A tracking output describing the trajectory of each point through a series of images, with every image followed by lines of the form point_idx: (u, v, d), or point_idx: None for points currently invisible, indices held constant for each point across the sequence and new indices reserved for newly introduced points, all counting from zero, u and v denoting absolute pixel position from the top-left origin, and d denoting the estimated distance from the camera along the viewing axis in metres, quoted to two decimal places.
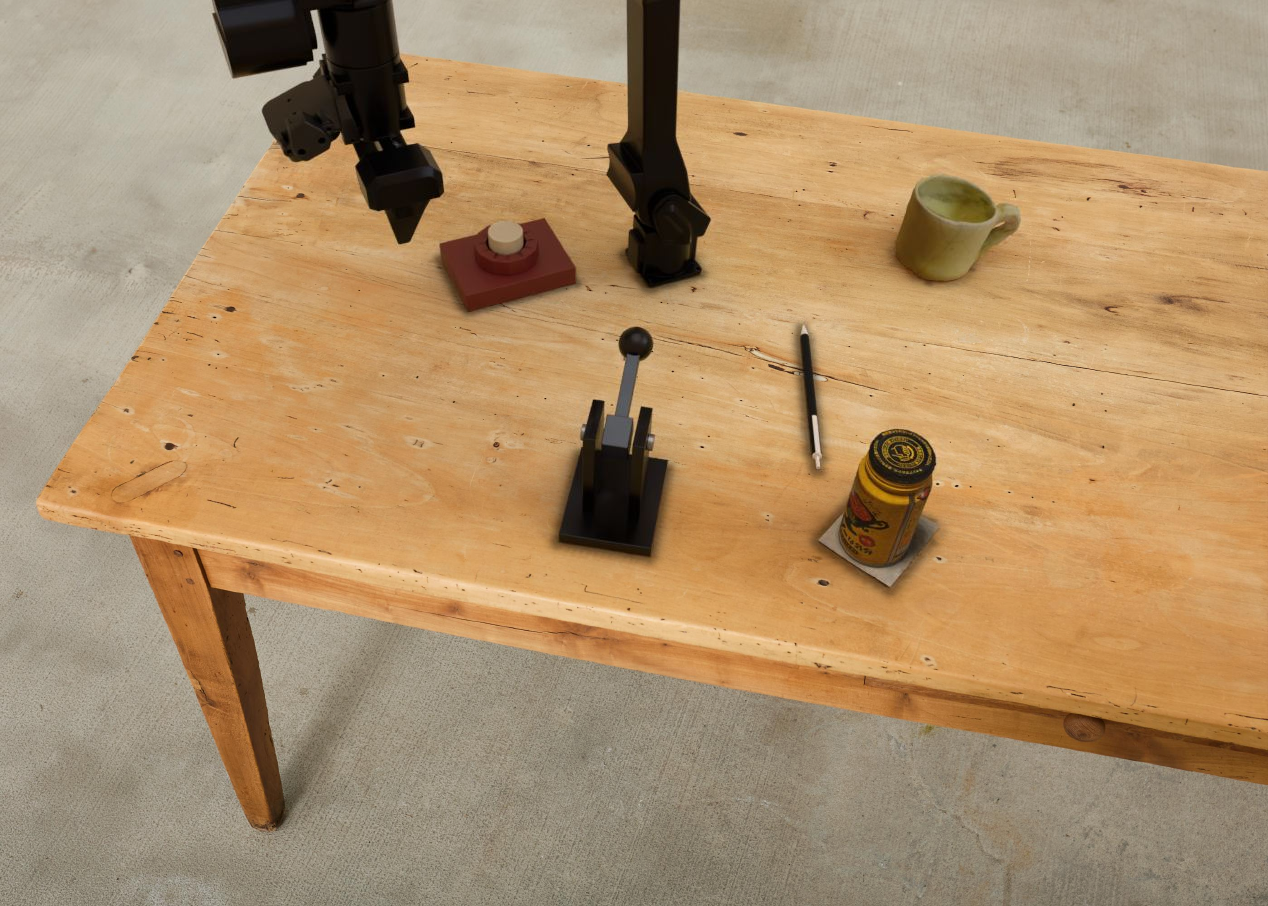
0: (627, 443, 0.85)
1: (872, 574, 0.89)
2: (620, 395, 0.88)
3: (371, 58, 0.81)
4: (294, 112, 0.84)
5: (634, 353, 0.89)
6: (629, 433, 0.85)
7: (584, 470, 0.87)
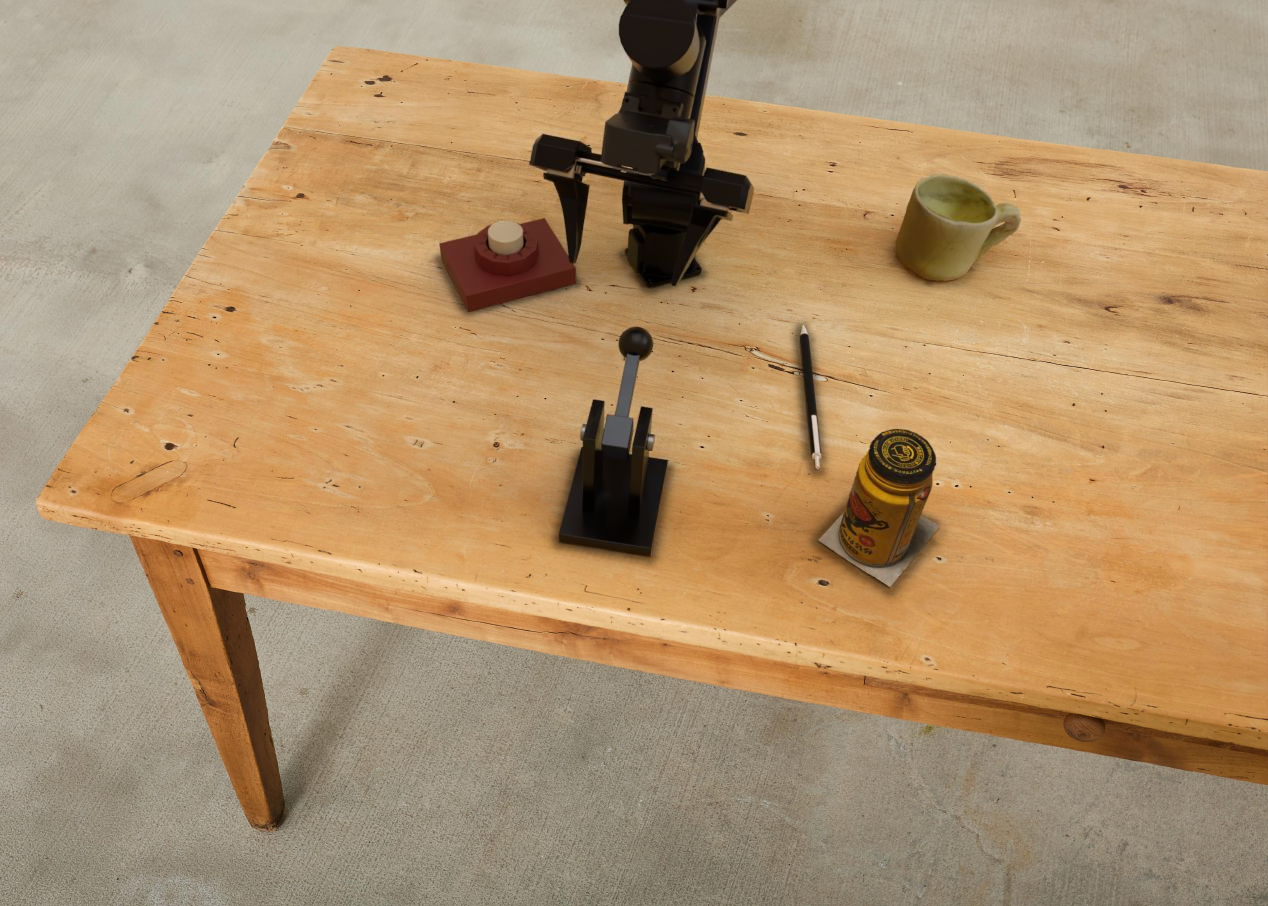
0: (627, 443, 0.85)
1: (872, 574, 0.89)
2: (620, 395, 0.88)
3: (696, 87, 0.89)
4: (649, 125, 0.83)
5: (634, 353, 0.89)
6: (629, 433, 0.85)
7: (584, 470, 0.87)
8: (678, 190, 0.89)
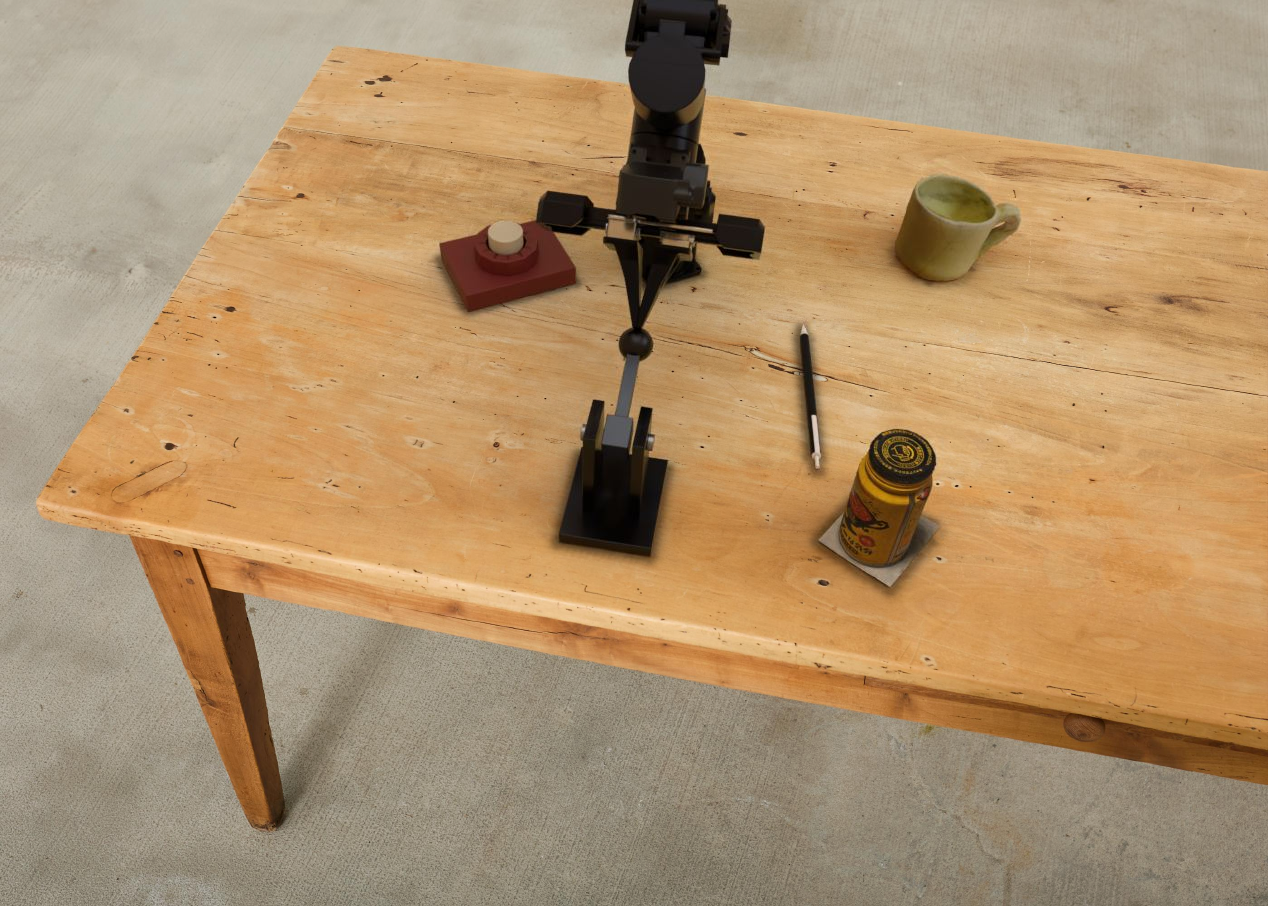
0: (627, 443, 0.85)
1: (872, 574, 0.89)
2: (620, 395, 0.88)
3: None
4: (662, 173, 0.82)
5: (634, 353, 0.89)
6: (629, 433, 0.85)
7: (584, 470, 0.87)
8: None
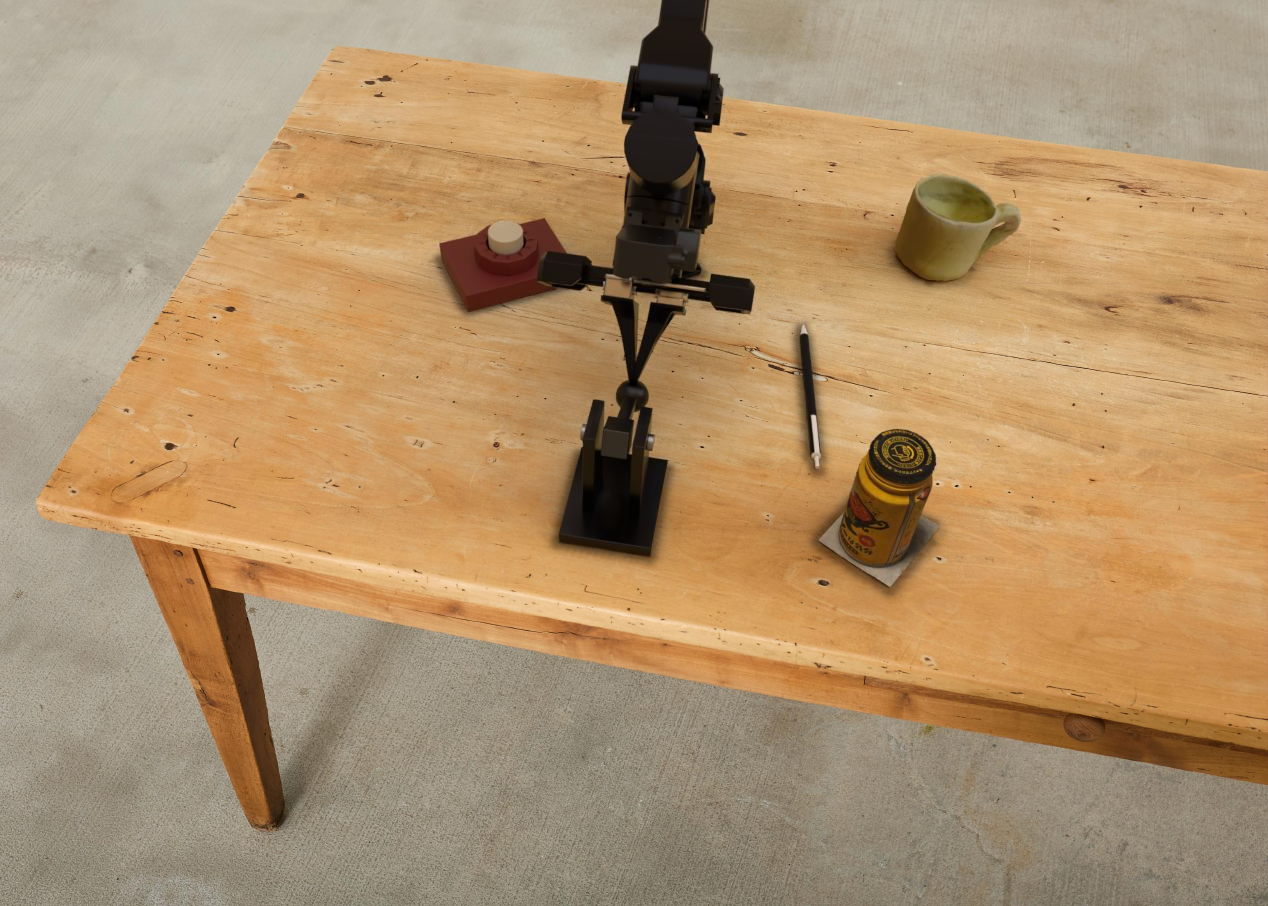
0: (629, 430, 0.85)
1: (872, 574, 0.89)
2: (619, 413, 0.90)
3: (692, 199, 0.92)
4: (657, 237, 0.86)
5: (632, 394, 0.93)
6: (631, 426, 0.86)
7: (584, 470, 0.87)
8: None
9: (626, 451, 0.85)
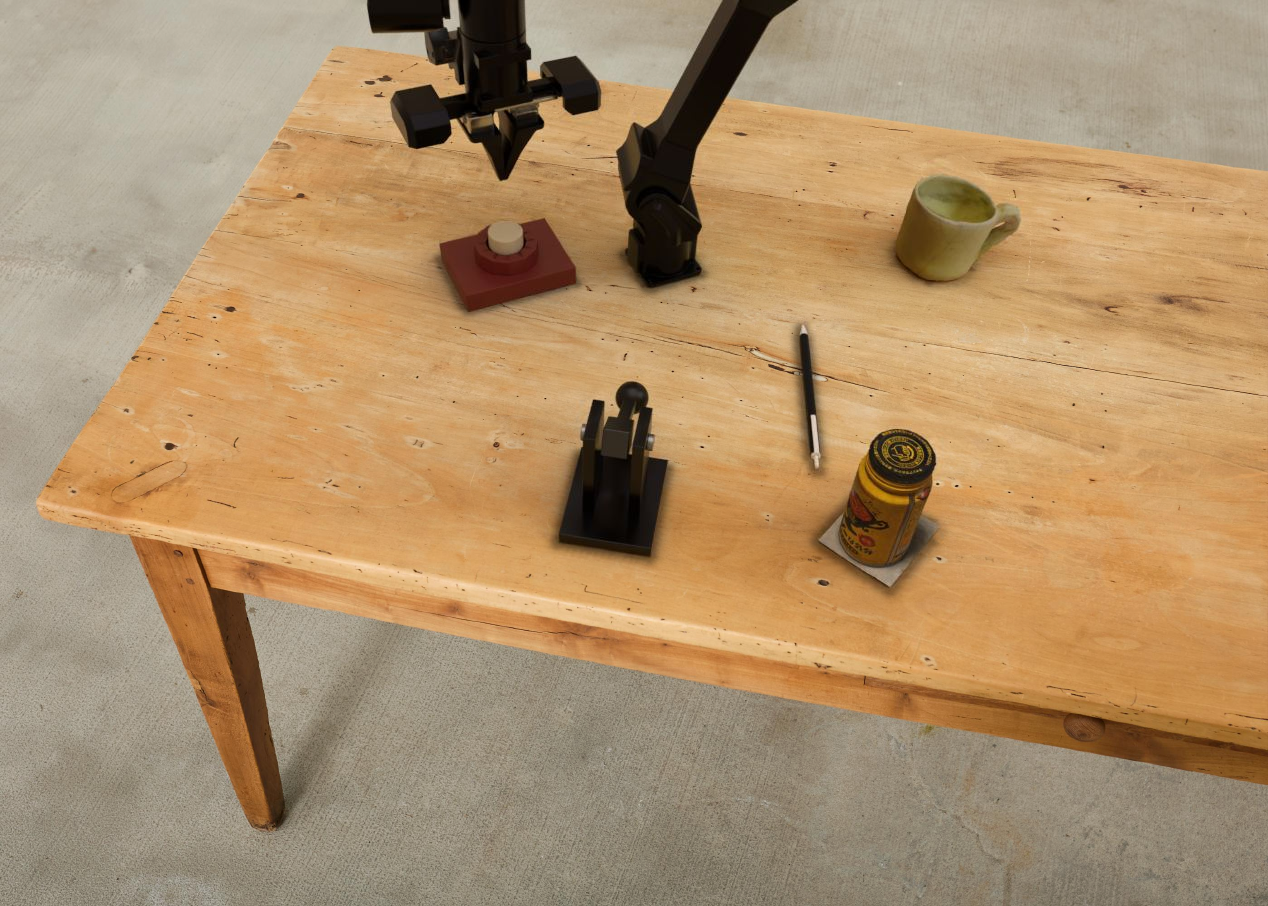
0: (629, 430, 0.85)
1: (872, 574, 0.89)
2: (619, 414, 0.90)
3: (494, 34, 0.89)
4: None
5: (632, 396, 0.93)
6: (631, 426, 0.86)
7: (584, 470, 0.87)
8: None
9: (626, 451, 0.85)
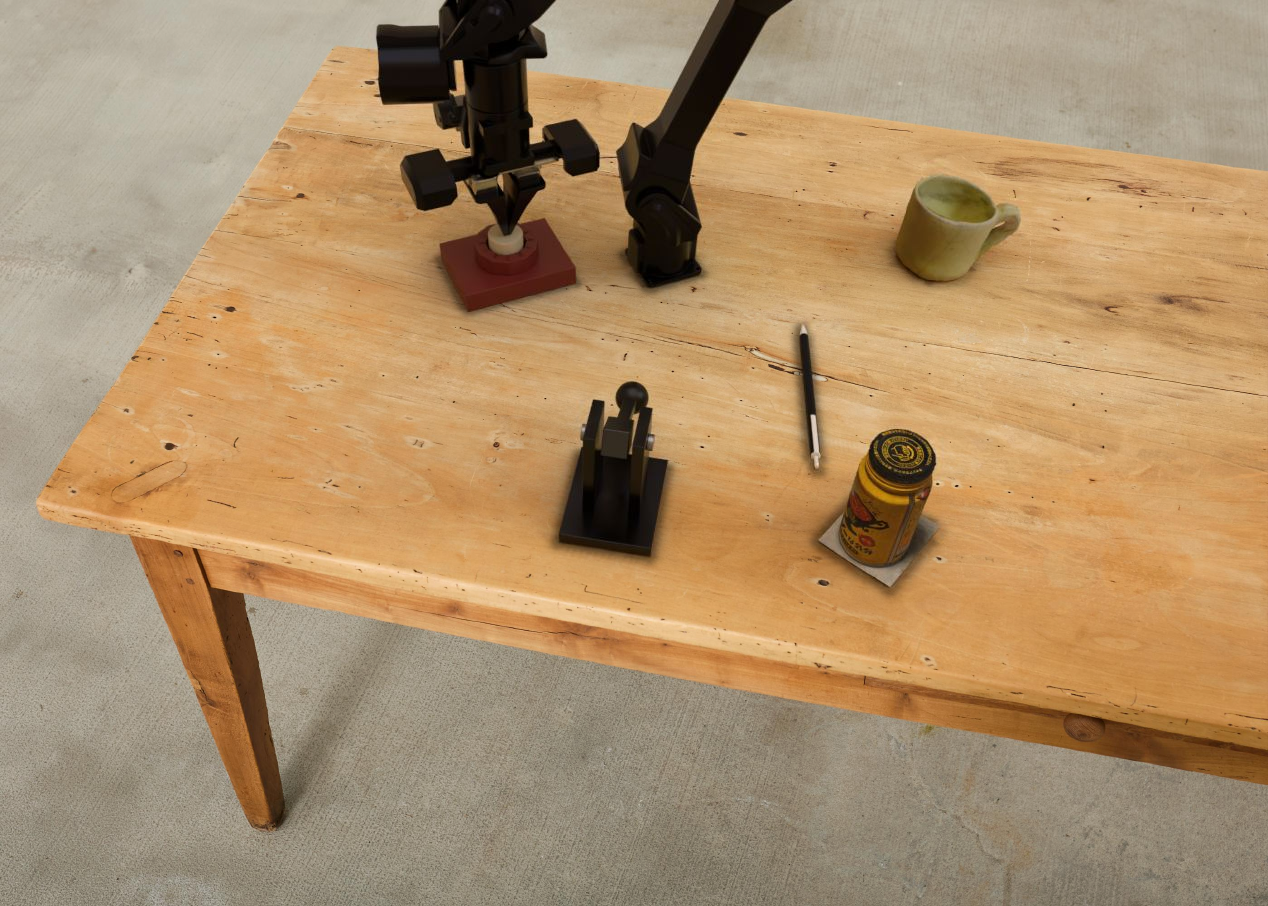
0: (629, 430, 0.85)
1: (872, 574, 0.89)
2: (619, 414, 0.90)
3: (498, 106, 0.95)
4: None
5: (632, 396, 0.93)
6: (631, 426, 0.86)
7: (584, 470, 0.87)
8: None
9: (626, 451, 0.85)
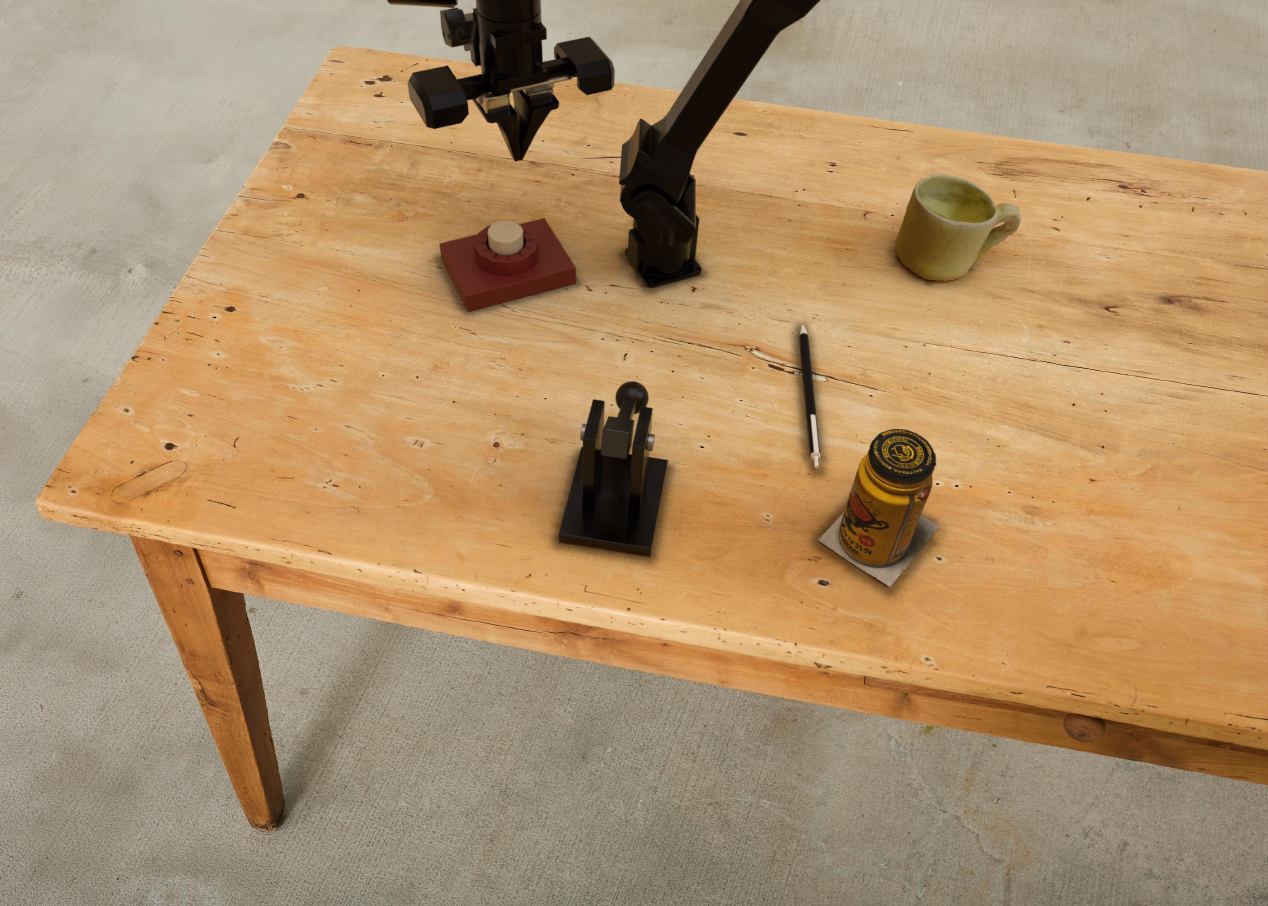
0: (629, 430, 0.85)
1: (872, 574, 0.89)
2: (619, 414, 0.90)
3: (505, 14, 0.91)
4: None
5: (632, 396, 0.93)
6: (631, 426, 0.86)
7: (584, 470, 0.87)
8: None
9: (626, 451, 0.85)
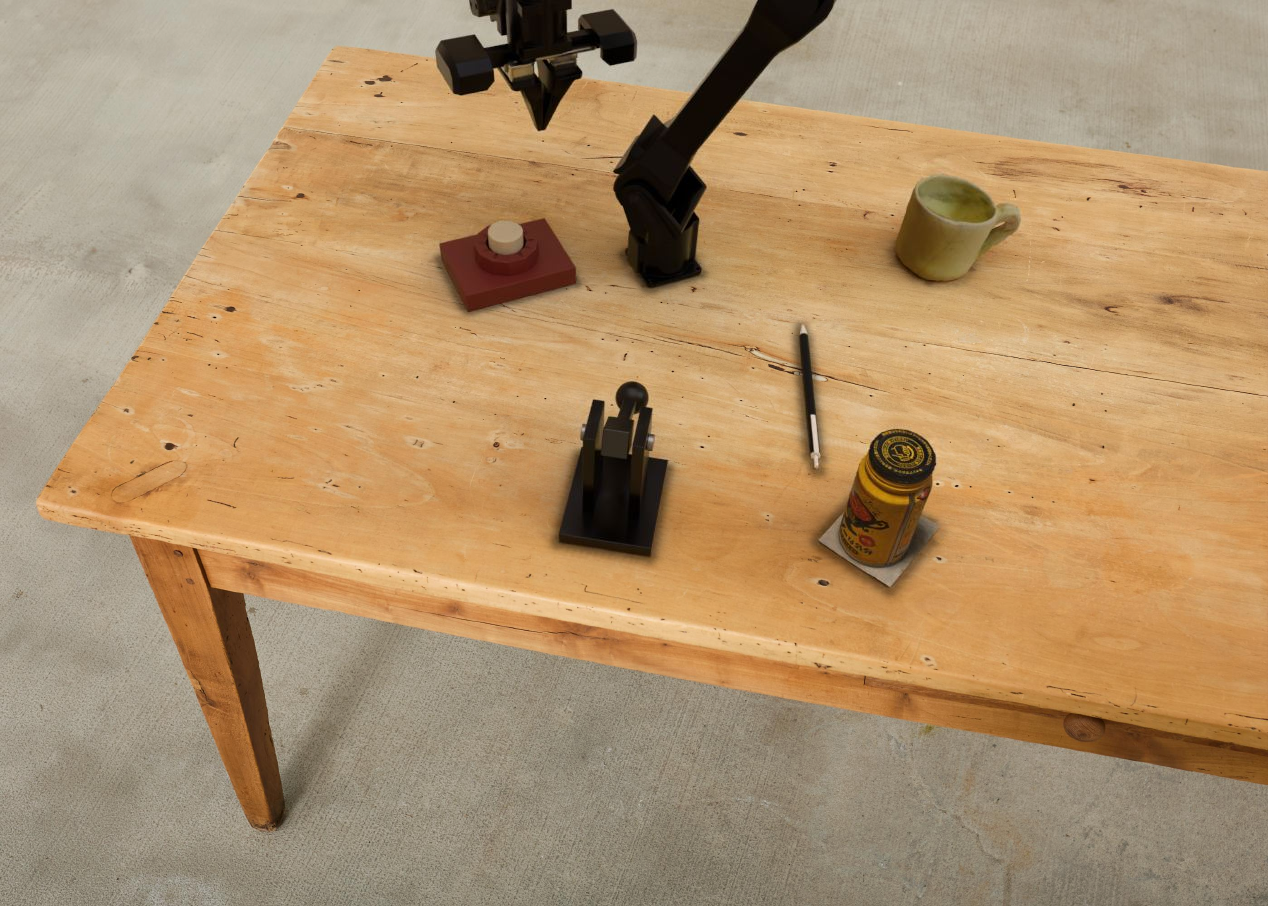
0: (629, 430, 0.85)
1: (872, 574, 0.89)
2: (619, 414, 0.90)
3: None
4: None
5: (632, 396, 0.93)
6: (631, 426, 0.86)
7: (584, 470, 0.87)
8: None
9: (626, 451, 0.85)
